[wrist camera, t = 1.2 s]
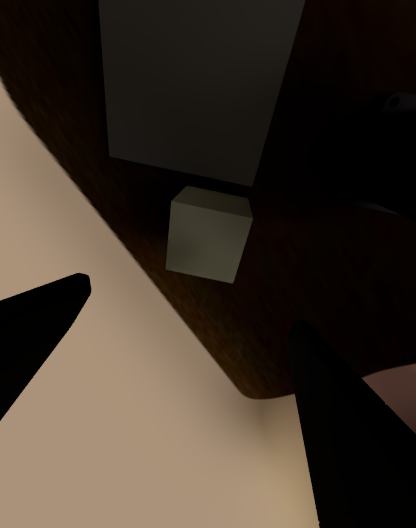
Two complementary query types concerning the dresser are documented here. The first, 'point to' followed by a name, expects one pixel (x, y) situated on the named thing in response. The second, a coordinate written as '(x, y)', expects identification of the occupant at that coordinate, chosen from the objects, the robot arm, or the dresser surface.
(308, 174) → the dresser surface
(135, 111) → the mat
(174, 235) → the cube
